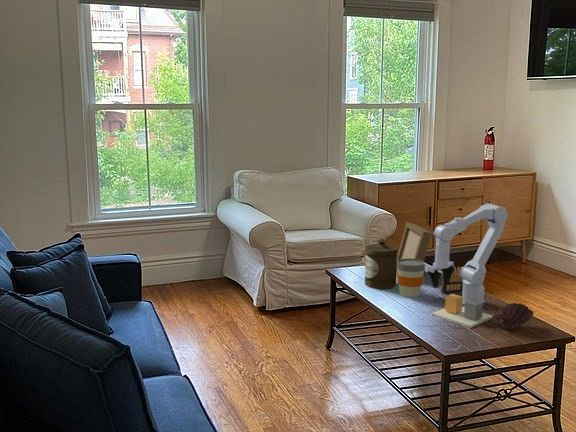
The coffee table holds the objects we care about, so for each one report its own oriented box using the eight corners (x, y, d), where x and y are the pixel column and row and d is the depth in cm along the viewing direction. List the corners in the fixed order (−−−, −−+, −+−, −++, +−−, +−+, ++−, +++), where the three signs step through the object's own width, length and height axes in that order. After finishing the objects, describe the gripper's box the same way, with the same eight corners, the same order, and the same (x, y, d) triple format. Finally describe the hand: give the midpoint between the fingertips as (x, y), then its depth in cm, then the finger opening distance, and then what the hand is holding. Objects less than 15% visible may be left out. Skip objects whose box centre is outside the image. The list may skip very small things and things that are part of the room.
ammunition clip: (461, 290, 281) (463, 265, 279) (463, 291, 279) (465, 266, 277) (440, 292, 278) (441, 267, 276) (442, 293, 277) (443, 268, 274)
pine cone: (523, 320, 244) (526, 296, 242) (541, 329, 235) (544, 304, 233) (487, 326, 238) (488, 301, 236) (503, 335, 229) (506, 310, 227)
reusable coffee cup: (411, 300, 267) (412, 267, 264) (389, 293, 277) (390, 261, 274) (429, 294, 275) (431, 262, 272) (407, 287, 285) (409, 256, 282)
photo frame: (409, 282, 292) (412, 231, 287) (393, 270, 313) (396, 222, 308) (438, 281, 295) (441, 231, 290) (421, 269, 316) (423, 221, 311)
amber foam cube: (451, 307, 254) (452, 293, 253) (462, 310, 251) (463, 296, 249) (444, 310, 251) (445, 296, 250) (455, 313, 247) (456, 299, 246)
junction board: (454, 306, 260) (455, 289, 258) (492, 318, 246) (493, 300, 245) (431, 315, 249) (432, 297, 248) (470, 327, 236) (471, 309, 235)
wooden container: (360, 280, 296) (361, 236, 291) (389, 279, 299) (391, 235, 294) (370, 290, 282) (371, 243, 277) (401, 288, 284) (402, 242, 280)
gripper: (444, 249, 263) (442, 280, 265) (423, 255, 253) (422, 286, 256) (458, 252, 257) (456, 283, 260) (438, 258, 248) (436, 290, 251)
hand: (440, 285), depth 258 cm, fingers open, 7 cm apart
